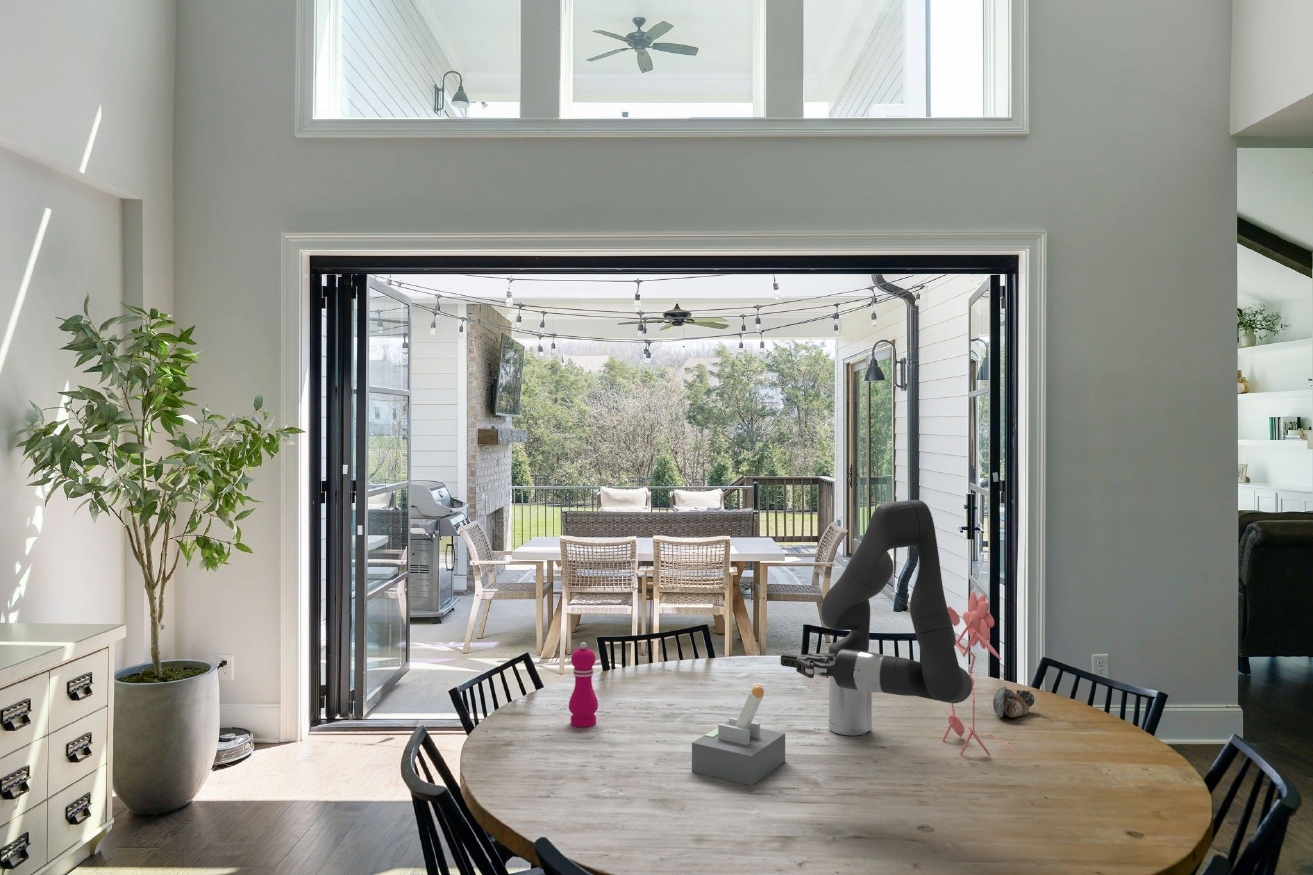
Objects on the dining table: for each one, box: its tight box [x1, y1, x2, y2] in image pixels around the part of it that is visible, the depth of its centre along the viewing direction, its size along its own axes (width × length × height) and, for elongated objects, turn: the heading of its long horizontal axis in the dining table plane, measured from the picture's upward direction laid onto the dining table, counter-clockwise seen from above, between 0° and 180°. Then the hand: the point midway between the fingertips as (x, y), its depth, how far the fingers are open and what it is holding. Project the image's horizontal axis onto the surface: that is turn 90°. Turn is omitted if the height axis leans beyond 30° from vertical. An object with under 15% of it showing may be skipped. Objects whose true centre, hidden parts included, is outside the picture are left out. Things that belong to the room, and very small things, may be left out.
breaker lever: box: [735, 685, 765, 729], centre depth 181 cm, size 3×3×13 cm
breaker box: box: [691, 717, 786, 787], centre depth 182 cm, size 16×14×9 cm
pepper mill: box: [568, 641, 599, 729], centre depth 210 cm, size 7×7×20 cm
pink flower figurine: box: [941, 591, 1015, 765], centre depth 194 cm, size 15×26×35 cm, turn 5°
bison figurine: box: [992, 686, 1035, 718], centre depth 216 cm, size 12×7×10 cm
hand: (782, 659), depth 177 cm, fingers closed
